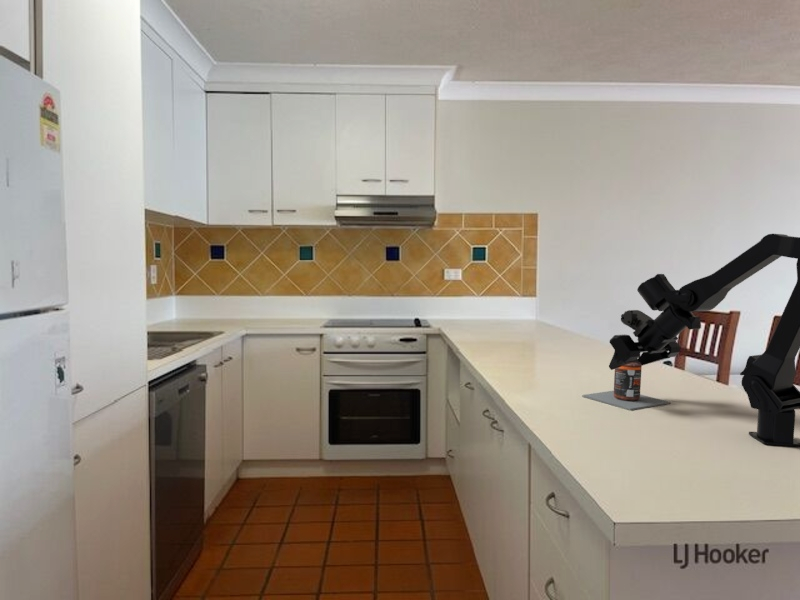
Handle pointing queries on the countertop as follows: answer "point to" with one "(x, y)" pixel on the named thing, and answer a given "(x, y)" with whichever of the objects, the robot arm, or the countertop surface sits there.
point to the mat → (629, 405)
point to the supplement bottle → (628, 381)
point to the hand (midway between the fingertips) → (623, 366)
